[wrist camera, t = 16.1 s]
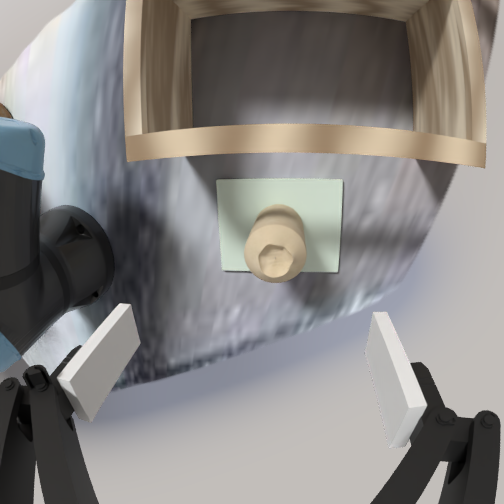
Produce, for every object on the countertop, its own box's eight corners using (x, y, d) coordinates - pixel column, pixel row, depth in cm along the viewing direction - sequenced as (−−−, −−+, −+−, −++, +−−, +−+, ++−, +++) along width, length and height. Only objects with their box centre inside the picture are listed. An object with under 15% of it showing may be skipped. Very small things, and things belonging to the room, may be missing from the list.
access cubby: (181, 151, 34) (127, 161, 22) (179, 11, 27) (130, -33, 15) (424, 154, 30) (485, 168, 18) (415, 14, 24) (462, -28, 12)
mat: (222, 268, 39) (222, 270, 38) (217, 179, 35) (216, 179, 34) (337, 270, 37) (337, 272, 36) (342, 179, 33) (342, 179, 32)
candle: (250, 208, 35) (234, 235, 26) (298, 199, 34) (301, 224, 25) (259, 253, 37) (249, 294, 27) (306, 246, 36) (311, 285, 26)
